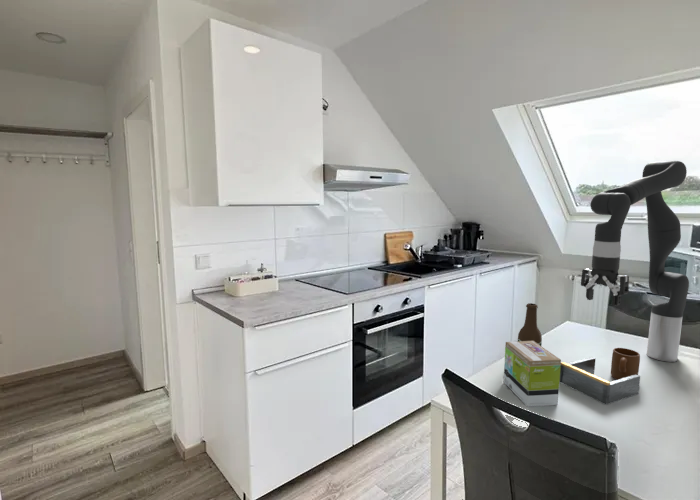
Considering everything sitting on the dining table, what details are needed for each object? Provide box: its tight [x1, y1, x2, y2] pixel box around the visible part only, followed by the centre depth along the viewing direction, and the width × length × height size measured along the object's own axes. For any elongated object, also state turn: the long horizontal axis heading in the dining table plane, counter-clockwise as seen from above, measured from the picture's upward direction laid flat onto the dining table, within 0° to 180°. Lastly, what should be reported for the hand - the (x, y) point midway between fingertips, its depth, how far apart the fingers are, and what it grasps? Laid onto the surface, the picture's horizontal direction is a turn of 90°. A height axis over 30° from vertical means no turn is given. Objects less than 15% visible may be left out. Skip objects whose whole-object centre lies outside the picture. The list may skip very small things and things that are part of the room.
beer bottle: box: [517, 303, 543, 346], centre depth 135 cm, size 8×8×24 cm
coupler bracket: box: [559, 356, 641, 405], centre depth 123 cm, size 16×15×7 cm
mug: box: [610, 347, 641, 380], centre depth 128 cm, size 12×8×9 cm, turn 138°
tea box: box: [503, 340, 562, 407], centre depth 118 cm, size 15×10×15 cm
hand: (602, 302), depth 126 cm, fingers open, 8 cm apart
